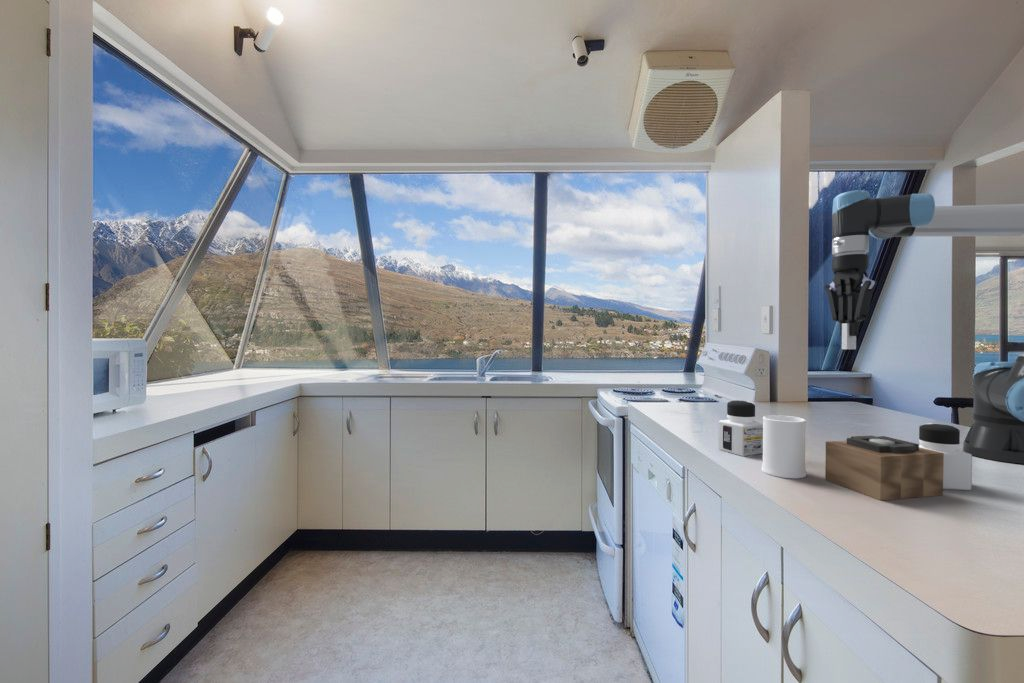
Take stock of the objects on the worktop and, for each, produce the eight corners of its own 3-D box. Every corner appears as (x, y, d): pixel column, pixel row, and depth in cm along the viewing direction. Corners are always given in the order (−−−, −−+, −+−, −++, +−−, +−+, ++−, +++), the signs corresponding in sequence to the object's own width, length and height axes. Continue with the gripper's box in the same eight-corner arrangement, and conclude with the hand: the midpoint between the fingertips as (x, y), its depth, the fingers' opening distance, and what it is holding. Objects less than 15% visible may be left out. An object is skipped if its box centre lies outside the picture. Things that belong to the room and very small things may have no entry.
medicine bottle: (972, 490, 90) (973, 429, 90) (929, 488, 92) (930, 427, 91) (946, 479, 97) (947, 422, 97) (906, 477, 99) (907, 420, 98)
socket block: (881, 475, 100) (882, 433, 100) (942, 495, 88) (943, 446, 88) (825, 479, 97) (825, 435, 97) (880, 500, 85) (880, 450, 85)
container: (742, 456, 115) (743, 404, 115) (717, 449, 123) (718, 400, 122) (764, 453, 119) (765, 402, 118) (738, 446, 126) (739, 398, 125)
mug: (763, 461, 111) (764, 411, 111) (806, 467, 107) (806, 414, 106) (760, 474, 101) (760, 419, 101) (806, 481, 96) (807, 423, 96)
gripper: (815, 258, 123) (814, 348, 123) (860, 250, 110) (859, 350, 110) (840, 259, 124) (839, 348, 125) (887, 251, 111) (886, 350, 112)
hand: (848, 349), depth 117 cm, fingers closed
